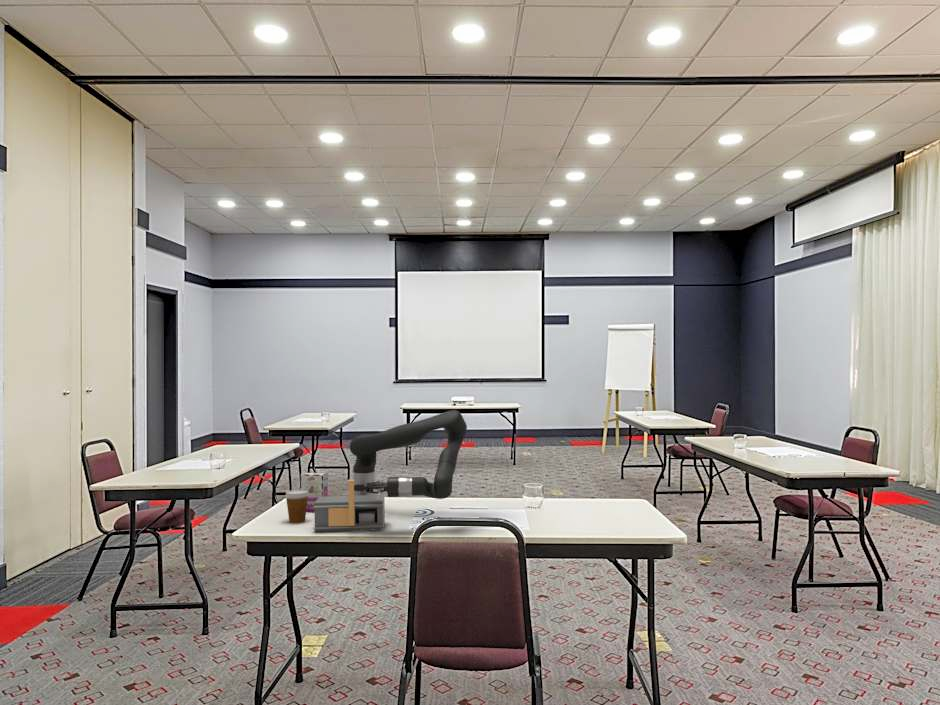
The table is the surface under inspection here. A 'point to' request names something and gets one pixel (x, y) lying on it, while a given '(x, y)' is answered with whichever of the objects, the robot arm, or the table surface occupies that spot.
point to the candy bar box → (314, 487)
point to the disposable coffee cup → (297, 505)
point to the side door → (344, 511)
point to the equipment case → (366, 512)
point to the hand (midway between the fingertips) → (354, 487)
